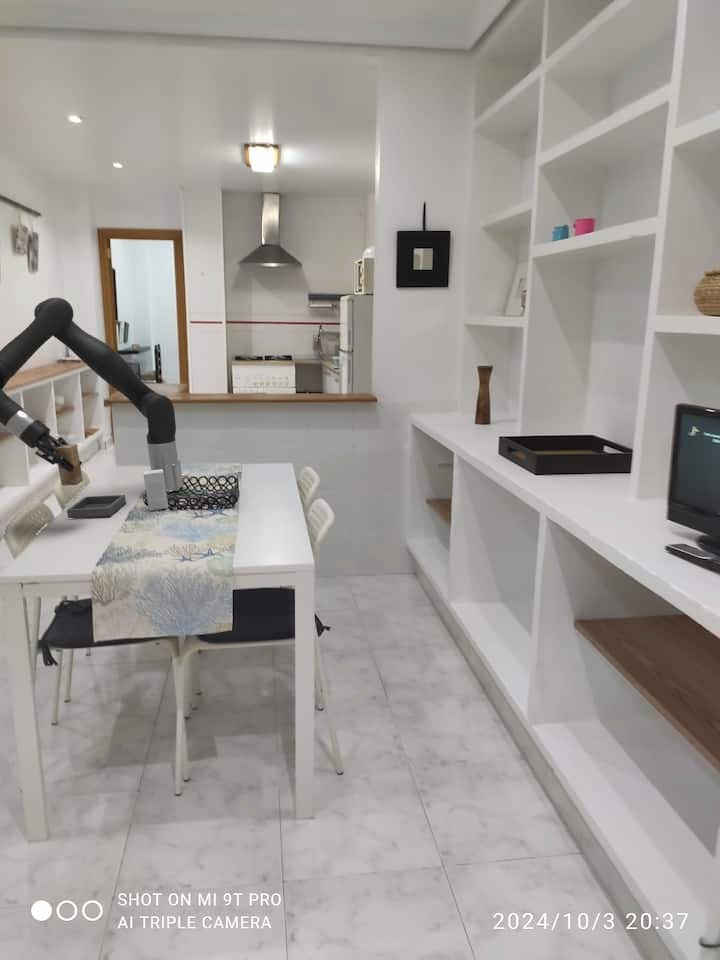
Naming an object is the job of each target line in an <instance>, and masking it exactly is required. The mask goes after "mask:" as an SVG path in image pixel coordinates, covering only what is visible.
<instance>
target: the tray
mask: <svg viewBox="0 0 720 960" xmlns="http://www.w3.org/2000/svg"><path fill="white" fill-rule="evenodd" d="M126 505H127V499H126V494H120V495H119V494H117V495H116V494H115V495H95V496H94V495H92V496H89V495H88V496H85V497H83V498H82V499H80V500H79V501H77V502H75V504H74V505H71V506H70V507H69V508H67V510H66V512H67V518H87V519H104V518H105V519H106V518H109V519H110V518H112V517H113V516H114V515H115V514H116V513H117V512H118V511H120V510H121V509H122V508H123V507H125V506H126Z"/></svg>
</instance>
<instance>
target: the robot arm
mask: <svg viewBox="0 0 720 960" xmlns="http://www.w3.org/2000/svg"><path fill="white" fill-rule="evenodd" d="M33 314H34V319H33V321H32V322H30V324H29V325H28V326H27V327H26V328H25V329H24V330H23V331H21V332H20V333H19V334H18V335H16V336H15V337H14V338H13V339H12V340H11V341H10V342H8V343H7V344H6V345H4V346H3V347H2V349H0V423H1V425H3V426H4V427H5V428H6V429H8V430H9V431H10V433H12V435H14V436H15V437H16V438H18V439H19V440H20V441H21V442H22V443H24V444H25V445H26V446H28V447H29V448H30V449H35V448H36V449H37V450H35V452H34V454H35V455H37V456H38V457H39V458H41V459H43V460H45V461H46V462H47V463H50V464H51V465H55V464H56V465H57V466H58V465H59V464H60V465H61V466H62V467H63V468H65V469H66V470H67V471H68V472H71V471H72V470H73V469H74V468H75V466H74V465H72V464H71V463H70V462H69V461H67V460H66V459H64V457H63V456H62V455H61V454H59V451H58V450H57V449H56V448H57V447H59V446H61V445H69V443H68V442H67V441H66V440H65V439H64V438H63V437H61V436H59V437H58V438H55V437H54V436H52V435H51V434H50V433H51V428H50V427H48V425H46V424H44V423H43V422H42V421H41V420H40V419H38V418H37V417H36V416H34V415H33V414H32V413H30V411H28V410H26V409H24V408H23V407H22V406H21V405H20V404H19V403H17V402H16V401H15V400H14V399H11V397H9V396H8V395H7V394H6V392H5V391H4V390H3V389H4V388H5V386H6V385H7V383H8V382H9V381H10V380H11V379H12V378H13V377H14V376H15V375H16V373H18V372H19V370H20V369H21V368H22V367H23V366H25V364H26V363H27V362H28V361H29V360H30V359H31V358H32V357H33V355H34V354H35V353H36V352H37V351H38V350H39V349H40V348H41V347H42V346H43V345H44V344H45V343H47V341H48V340H50V339H51V338H52V337H54V338H55V339H57V341H60V343H62V344H64V345H65V347H67V348H68V349H69V350H70V351H72V352H73V354H74V355H75V356H77V357H78V358H79V360H81V361H82V362H83V363H84V364H86V366H88V367H89V369H91V370H92V371H93V372H94V373H95V374H96V375H97V376H99V377H100V378H101V379H102V380H103V381H105V382H106V383H107V384H108V385H109V386H111V387H112V388H114V390H116V391H118V392H120V394H122V395H123V396H124V397H125V398H127V400H129V401H130V402H131V404H132V405H134V407H135V408H136V409H137V410H138V411H139V413H141V415H142V416H143V417H144V418H146V419H147V420H146V421H147V428H148V429H147V430H148V431H147V433H146V444H147V450H148V460H149V464H150V465H149V467H150V471H151V470H159V469H163V472H164V479H165V486H166V490H179V489H180V488H181V487H182V486H183V487H184V481H183V474H182V466H181V461H180V460H179V458H178V450H177V441H176V431H177V426H176V425H177V424H176V416H175V407H174V404H173V401H172V400H171V399H170V398H169V397H168V396H166V395H163V394H159V393H157V392H156V391H154V390H153V389H152V388H150V387H149V386H148V385H147V384H146V383H145V382H143V381H142V380H141V379H140V378H139V377H138V376H137V374H136V373H135V372H134V370H133V369H132V367H131V366H130V365H129V363H128V362H127V361H126V360H125V359H124V358H123V357H122V356H121V355H120V354H119V353H118V352H117V351H115V350H114V349H113V348H112V347H111V346H110V345H108V344H107V343H105V342H104V341H103V340H101V339H99V338H97V337H95V336H93V335H91V334H90V333H87V332H86V331H85V330H83V329H82V328H81V327H80V326H78V324H77V323H76V322H75V321H73V320H74V308H73V306H72V305H71V303H70V302H68V300H67V299H65V298H61V297H50V298H46V299H45V300H43V301H41V302H39V303H38V304H37V305H36V306H35V307H34V312H33ZM56 455H57V456H56ZM79 461H80V466H81V465H82V464H83V461H81V460H80V459H79Z"/></svg>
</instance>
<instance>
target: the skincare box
mask: <svg viewBox="0 0 720 960" xmlns="http://www.w3.org/2000/svg"><path fill="white" fill-rule="evenodd" d="M143 478H144V486H145V492H146V498H147V505H148V510H149V511H150V512H151V511H159V510H164V509H169V501H168V493H166V486H165V479H164V472H163V469H159V470H151V469H150V470H146V471H144V470H143Z"/></svg>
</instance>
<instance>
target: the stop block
mask: <svg viewBox="0 0 720 960" xmlns="http://www.w3.org/2000/svg"><path fill="white" fill-rule="evenodd" d="M56 449H57V450H58V451H59V454H61V455H62V456H63V457H64V459H66V460H67V461H69V462H70V463H71V464H72V465H74V466H75V468H74V469H73V470H72V471H71V472H68V471H67V470H66V469H65V468H63V467H62V466H61V465H60V464H59V465H58V464H57V466H58V473H59V479H60V484H61V486H77V485H79V484H80V483H82V482H83V481H84V480H83V474H82V468H81V465H80V461H81V460H80V456H79V450H78V444H76V443H75V444H68V445H61V446H59V447H57V448H56ZM56 456H57V455H56ZM79 460H80V461H79Z"/></svg>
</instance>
